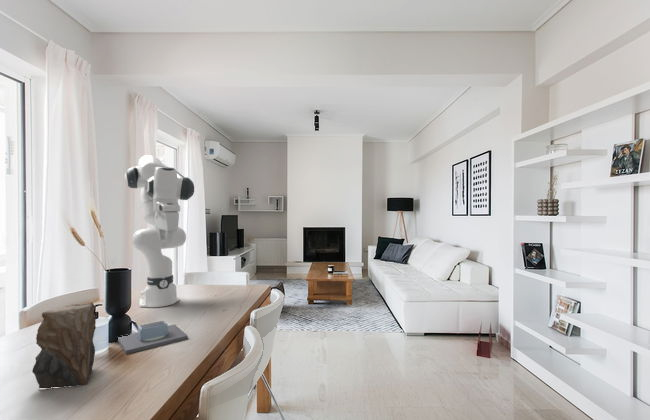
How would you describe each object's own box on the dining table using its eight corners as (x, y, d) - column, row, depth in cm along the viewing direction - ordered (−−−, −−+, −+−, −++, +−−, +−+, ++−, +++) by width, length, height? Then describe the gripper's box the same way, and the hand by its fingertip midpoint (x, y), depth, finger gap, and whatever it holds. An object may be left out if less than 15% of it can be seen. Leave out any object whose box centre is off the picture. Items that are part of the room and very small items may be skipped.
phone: (137, 336, 120) (137, 325, 120) (164, 330, 126) (164, 320, 126) (140, 340, 117) (140, 329, 117) (167, 334, 122) (167, 323, 122)
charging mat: (117, 339, 121) (117, 336, 121) (174, 327, 134) (174, 323, 134) (125, 354, 109) (125, 350, 109) (187, 338, 122) (187, 335, 122)
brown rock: (30, 392, 86) (30, 316, 86) (56, 369, 98) (56, 302, 98) (85, 385, 89) (85, 312, 89) (104, 364, 101) (104, 300, 101)
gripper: (150, 206, 138) (150, 239, 138) (164, 206, 122) (164, 243, 122) (166, 206, 142) (166, 238, 142) (181, 207, 126) (181, 242, 127)
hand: (165, 241), depth 132 cm, fingers open, 8 cm apart
